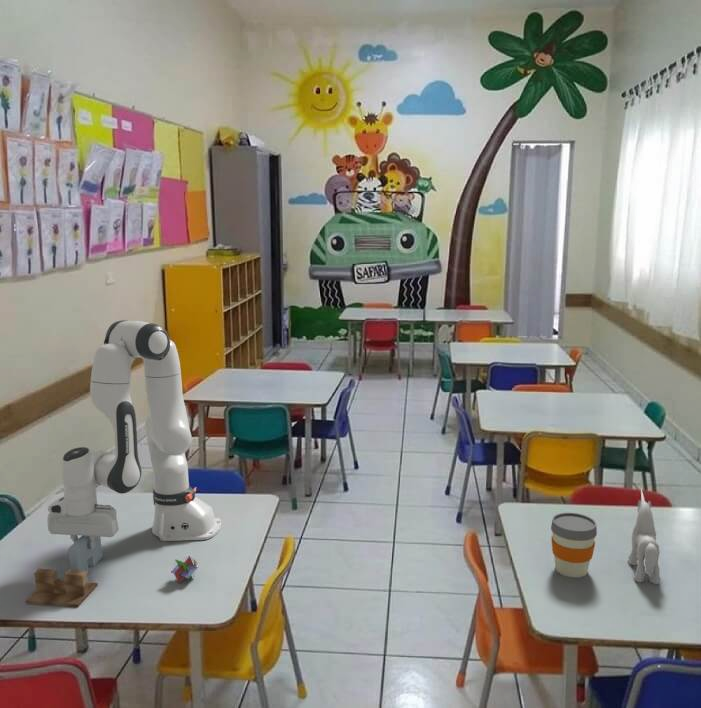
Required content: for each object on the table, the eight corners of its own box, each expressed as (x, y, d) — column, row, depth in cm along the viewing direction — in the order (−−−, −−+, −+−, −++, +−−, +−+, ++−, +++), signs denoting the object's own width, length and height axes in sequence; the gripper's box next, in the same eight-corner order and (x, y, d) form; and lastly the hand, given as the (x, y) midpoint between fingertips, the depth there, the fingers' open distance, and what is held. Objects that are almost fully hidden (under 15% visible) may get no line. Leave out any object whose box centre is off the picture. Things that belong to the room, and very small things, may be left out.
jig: (97, 585, 199) (95, 563, 197) (78, 607, 188) (76, 584, 187) (47, 582, 201) (45, 560, 199) (25, 603, 190) (23, 580, 189)
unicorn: (649, 548, 217) (654, 488, 212) (664, 592, 193) (670, 524, 189) (623, 546, 218) (627, 485, 214) (635, 588, 195) (640, 521, 190)
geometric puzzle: (179, 584, 195) (190, 556, 197) (162, 578, 198) (173, 550, 201) (195, 589, 200) (206, 561, 203) (177, 582, 204) (188, 555, 207)
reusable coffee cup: (540, 568, 206) (542, 520, 203) (564, 554, 214) (567, 508, 210) (578, 585, 196) (581, 536, 193) (602, 570, 204) (606, 522, 201)
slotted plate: (94, 556, 215) (91, 526, 213) (102, 557, 215) (99, 526, 213) (71, 580, 201) (68, 548, 199) (79, 581, 201) (76, 549, 199)
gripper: (120, 500, 205) (123, 544, 208) (54, 497, 208) (58, 541, 211) (110, 510, 199) (114, 555, 202) (42, 507, 202) (47, 551, 205)
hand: (85, 547), depth 207 cm, fingers closed on slotted plate, 2 cm apart
